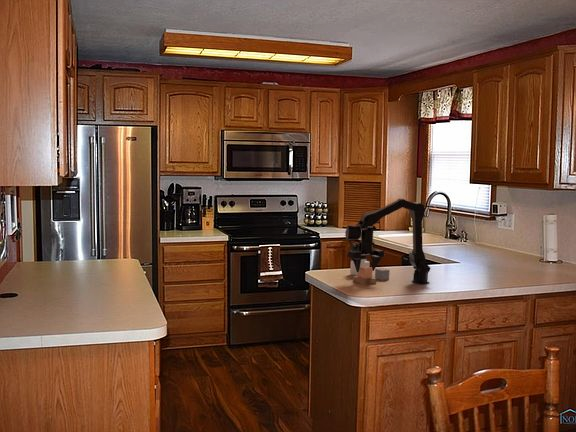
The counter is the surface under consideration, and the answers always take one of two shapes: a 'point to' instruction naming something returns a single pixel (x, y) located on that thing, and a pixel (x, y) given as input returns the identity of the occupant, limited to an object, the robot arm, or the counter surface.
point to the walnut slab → (364, 280)
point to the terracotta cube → (365, 272)
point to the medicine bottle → (363, 263)
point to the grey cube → (382, 274)
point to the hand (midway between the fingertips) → (365, 271)
